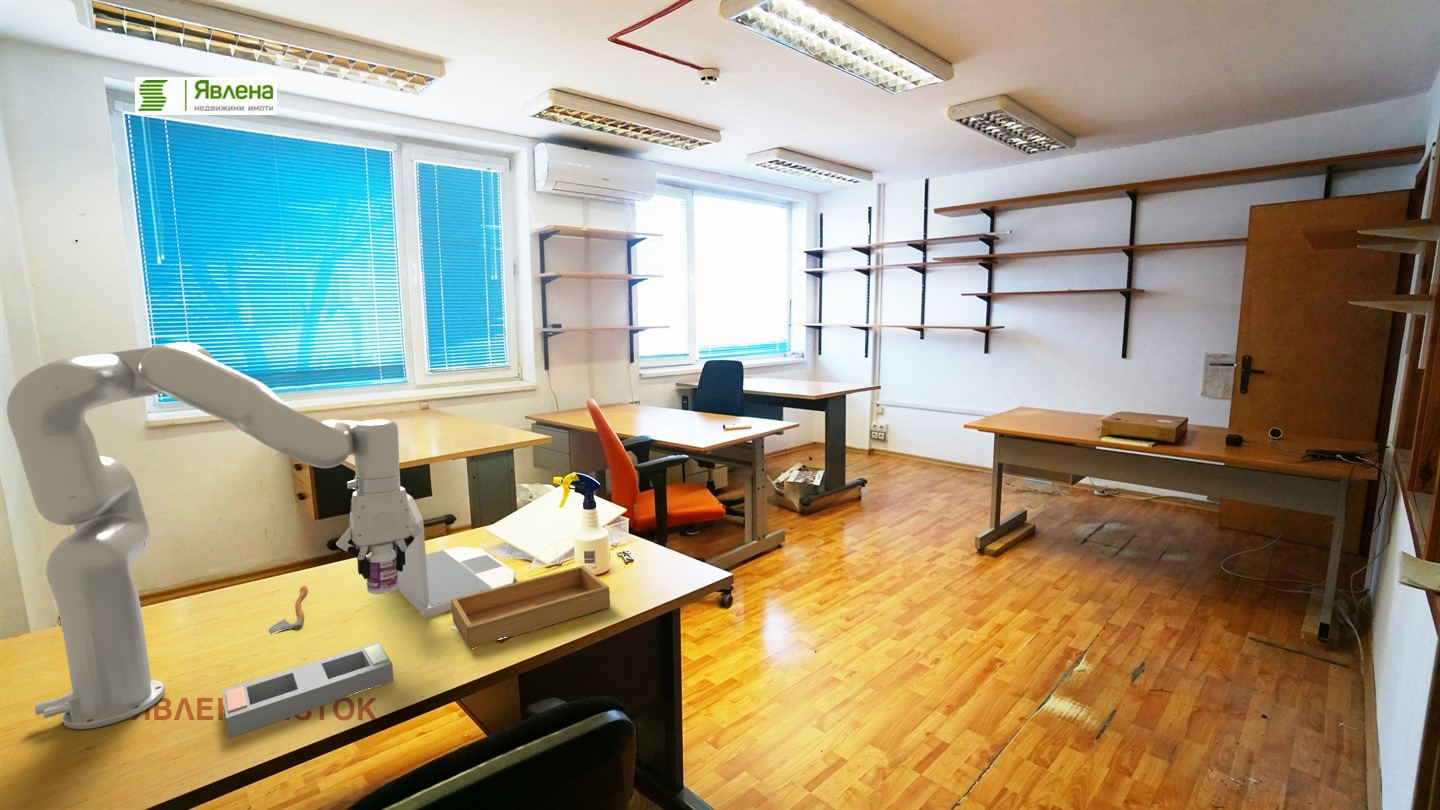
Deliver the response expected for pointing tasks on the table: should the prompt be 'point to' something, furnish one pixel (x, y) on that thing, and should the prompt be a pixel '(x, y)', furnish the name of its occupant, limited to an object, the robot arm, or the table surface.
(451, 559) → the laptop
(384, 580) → the pill bottle
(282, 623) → the axe
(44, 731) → the table surface
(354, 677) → the socket board
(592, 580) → the tray
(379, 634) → the table surface
